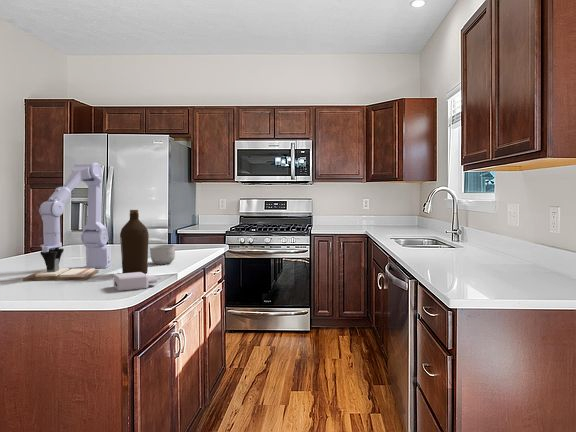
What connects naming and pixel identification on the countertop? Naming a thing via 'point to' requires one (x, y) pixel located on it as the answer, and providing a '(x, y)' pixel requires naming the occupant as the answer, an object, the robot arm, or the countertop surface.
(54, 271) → the stub
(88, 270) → the ticket
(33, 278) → the board
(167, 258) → the teacup
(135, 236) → the olive oil
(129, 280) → the charger
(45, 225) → the robot arm
